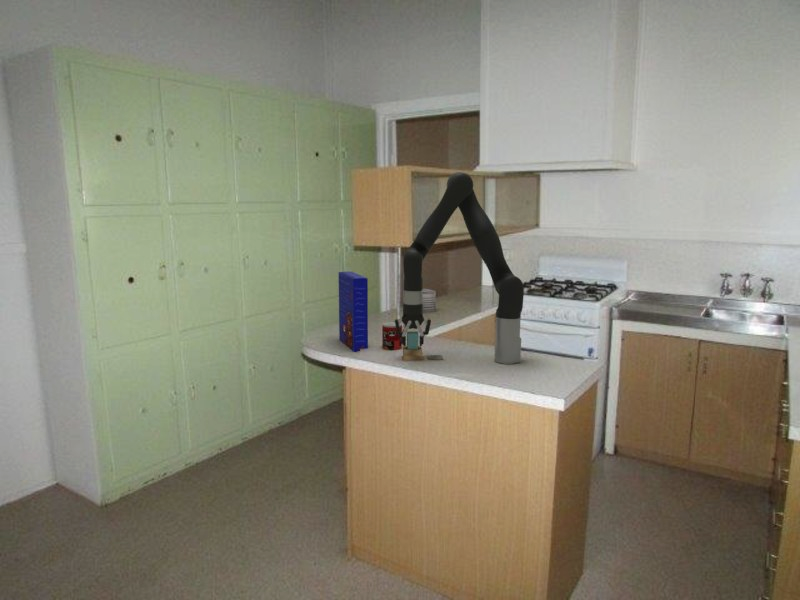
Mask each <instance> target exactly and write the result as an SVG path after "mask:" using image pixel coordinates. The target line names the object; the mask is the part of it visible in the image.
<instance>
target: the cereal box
mask: <svg viewBox="0 0 800 600" xmlns="http://www.w3.org/2000/svg"><path fill="white" fill-rule="evenodd" d="M368 279H369V278H368V277H365V276H363V275H361V274H358V273H357V272H354V271H345V270H344V271H339V272H338V322H339V323H338V325H339V328H338V329H339V333H338V335H339V337H338V338H339V341H340V342H341V343H342V344H344V345H345V346H346V347H347V348H348V347H349V348H348V349H349V350H351V351H352V353H358V352H357V351H360V352H361V350H364V349H369V340H368V339H369V325H368V324H369V317H368V316H369V313H368V312H369V309H368V308H369V306H368V305H369V304H368V303H369V301H368V299H369V295H368V294H369V293H368V292H369V291H368V290H369V289H368V288H369V285H368V283H369V282H368Z"/></svg>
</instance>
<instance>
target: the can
mask: <svg viewBox="0 0 800 600" xmlns="http://www.w3.org/2000/svg"><path fill="white" fill-rule="evenodd" d="M422 292H423V314H433V313H434V314H435V313H436V304H437V303H436V302H437V301H436V299H437V298H436V294H437V291H435V290H434V289H428V288H422Z"/></svg>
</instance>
